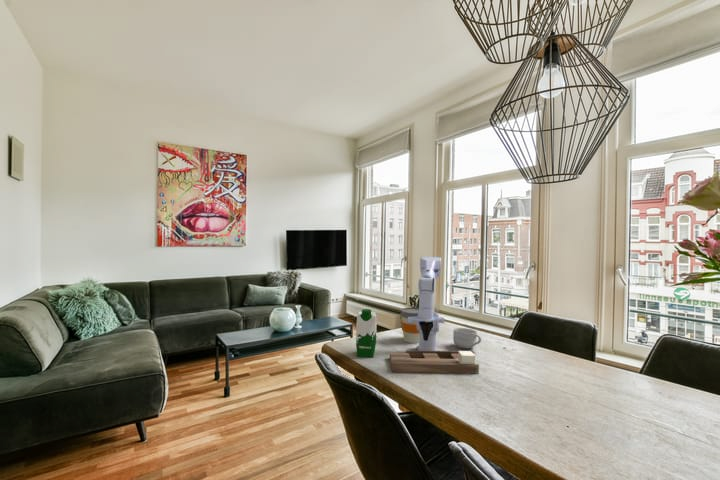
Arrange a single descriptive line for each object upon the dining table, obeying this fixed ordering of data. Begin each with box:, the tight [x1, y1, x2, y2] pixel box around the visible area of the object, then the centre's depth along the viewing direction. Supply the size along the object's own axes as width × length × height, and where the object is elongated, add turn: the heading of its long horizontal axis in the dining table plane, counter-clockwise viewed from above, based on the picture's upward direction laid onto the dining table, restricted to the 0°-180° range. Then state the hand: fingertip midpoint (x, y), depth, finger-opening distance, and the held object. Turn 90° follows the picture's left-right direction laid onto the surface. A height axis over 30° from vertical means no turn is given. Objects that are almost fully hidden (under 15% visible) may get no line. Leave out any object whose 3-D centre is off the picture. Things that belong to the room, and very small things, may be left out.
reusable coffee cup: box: [400, 307, 419, 344], centre depth 166 cm, size 13×12×15 cm
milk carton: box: [355, 308, 378, 358], centre depth 145 cm, size 9×9×20 cm
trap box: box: [389, 349, 480, 374], centre depth 135 cm, size 15×34×3 cm, turn 91°
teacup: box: [452, 327, 482, 350], centre depth 156 cm, size 14×11×8 cm
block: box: [457, 350, 476, 364], centre depth 131 cm, size 5×5×4 cm
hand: (425, 339), depth 135 cm, fingers closed
